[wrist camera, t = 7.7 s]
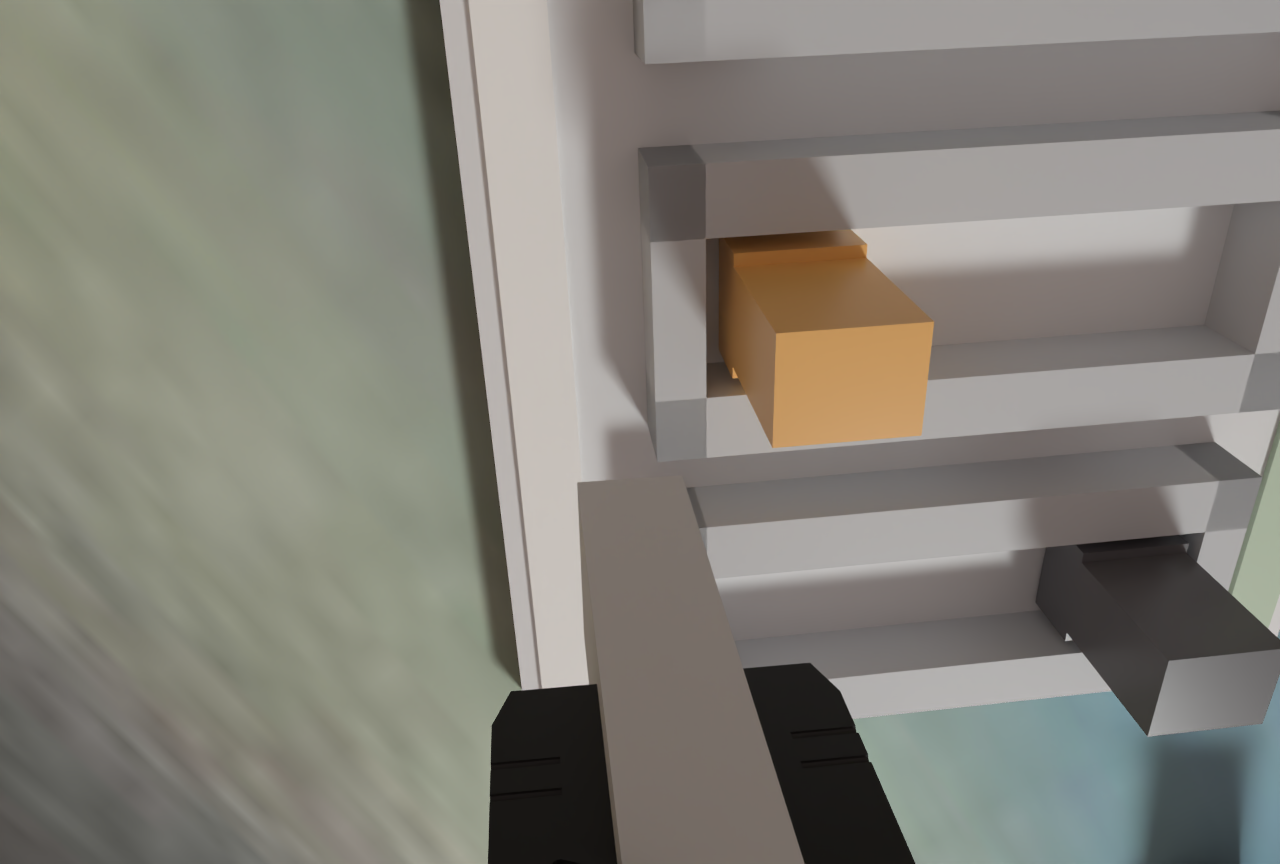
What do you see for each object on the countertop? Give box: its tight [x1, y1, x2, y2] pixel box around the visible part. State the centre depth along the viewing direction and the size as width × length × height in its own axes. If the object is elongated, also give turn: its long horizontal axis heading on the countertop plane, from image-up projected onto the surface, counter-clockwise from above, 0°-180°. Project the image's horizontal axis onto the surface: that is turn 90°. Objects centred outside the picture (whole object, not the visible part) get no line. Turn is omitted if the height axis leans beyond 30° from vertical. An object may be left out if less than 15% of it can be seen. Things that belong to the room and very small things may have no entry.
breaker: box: [1035, 535, 1280, 737], centre depth 26 cm, size 3×3×6 cm
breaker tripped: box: [719, 229, 934, 448], centre depth 21 cm, size 3×3×6 cm
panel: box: [440, 0, 1280, 719], centre depth 24 cm, size 24×27×4 cm
